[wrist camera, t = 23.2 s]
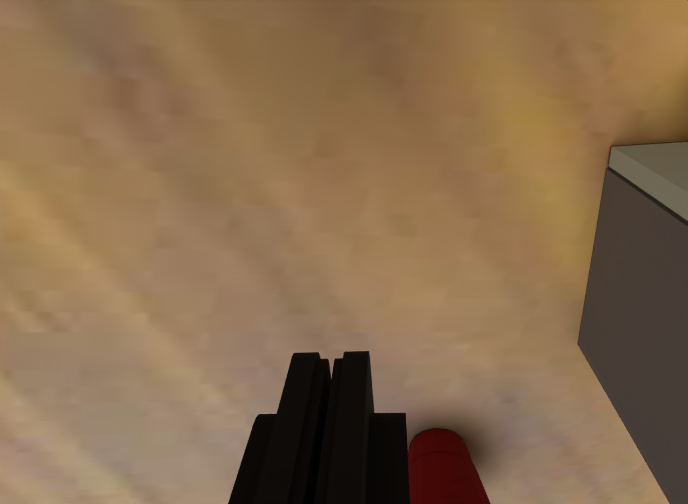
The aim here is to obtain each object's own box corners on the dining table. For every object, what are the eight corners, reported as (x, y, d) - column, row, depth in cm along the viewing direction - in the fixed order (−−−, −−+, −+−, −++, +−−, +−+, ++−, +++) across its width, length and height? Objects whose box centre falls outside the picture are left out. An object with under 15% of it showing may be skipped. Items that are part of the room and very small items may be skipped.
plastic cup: (496, 479, 50) (527, 604, 40) (396, 486, 52) (399, 608, 42) (489, 403, 46) (521, 523, 35) (378, 414, 47) (377, 531, 37)
